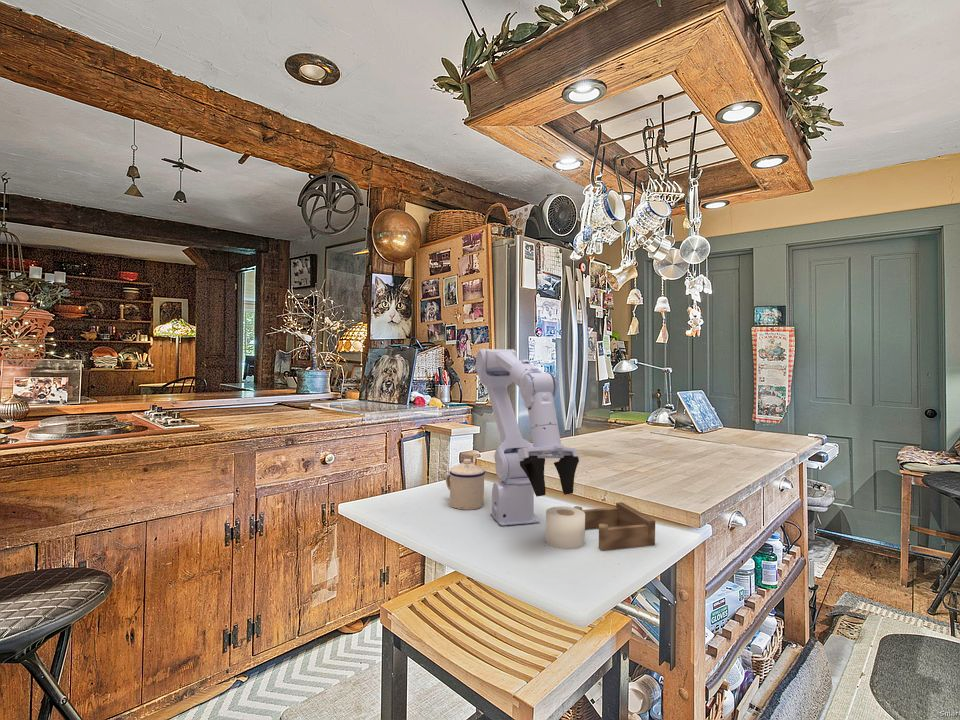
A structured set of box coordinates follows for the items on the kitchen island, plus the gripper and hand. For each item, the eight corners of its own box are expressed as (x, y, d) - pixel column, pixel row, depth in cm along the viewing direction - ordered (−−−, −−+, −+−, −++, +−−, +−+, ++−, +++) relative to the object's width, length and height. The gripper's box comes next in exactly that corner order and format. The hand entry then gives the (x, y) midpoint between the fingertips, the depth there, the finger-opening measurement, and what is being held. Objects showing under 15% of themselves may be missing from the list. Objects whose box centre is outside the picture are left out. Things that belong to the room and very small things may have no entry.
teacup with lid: (492, 504, 124) (492, 459, 124) (467, 513, 118) (468, 465, 117) (458, 495, 132) (459, 452, 132) (433, 502, 126) (434, 457, 125)
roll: (554, 550, 96) (555, 520, 96) (539, 535, 104) (540, 507, 104) (591, 547, 98) (592, 517, 98) (573, 532, 106) (574, 504, 106)
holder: (601, 551, 96) (601, 526, 96) (572, 528, 108) (572, 505, 108) (655, 545, 99) (656, 521, 99) (621, 523, 112) (621, 501, 112)
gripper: (530, 422, 94) (541, 494, 90) (582, 424, 103) (594, 490, 98) (508, 430, 100) (517, 498, 95) (559, 431, 108) (569, 495, 103)
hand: (555, 494), depth 97 cm, fingers open, 7 cm apart
